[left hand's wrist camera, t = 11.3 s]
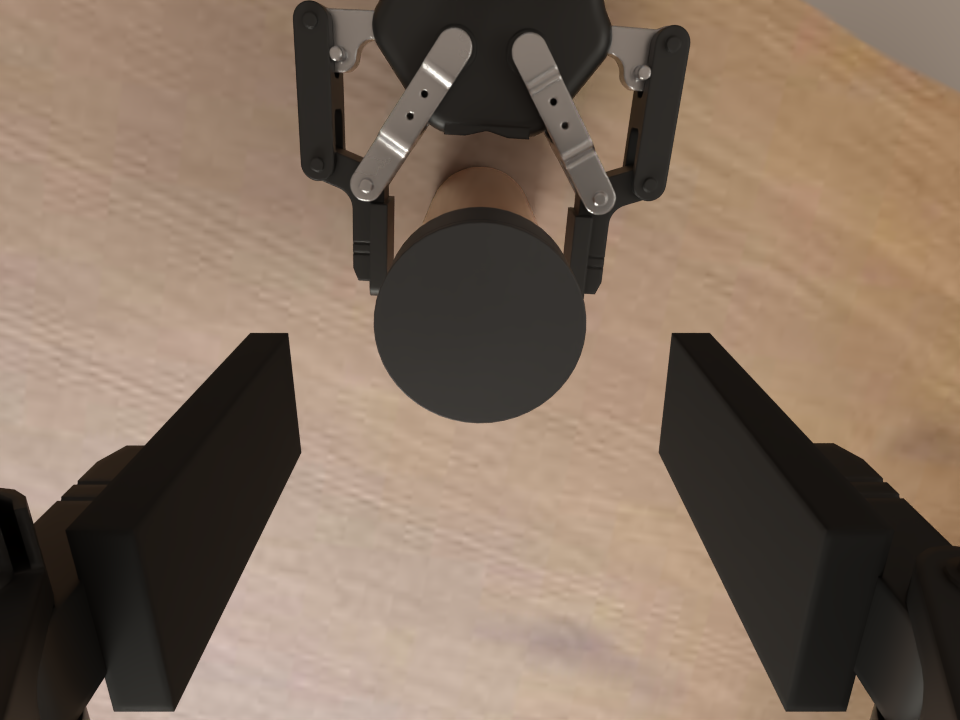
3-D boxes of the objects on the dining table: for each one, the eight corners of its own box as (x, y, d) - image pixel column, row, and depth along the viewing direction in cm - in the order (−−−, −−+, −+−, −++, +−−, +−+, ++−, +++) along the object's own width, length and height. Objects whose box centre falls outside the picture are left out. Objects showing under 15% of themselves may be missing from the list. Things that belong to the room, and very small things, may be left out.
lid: (377, 375, 21) (364, 409, 19) (395, 192, 19) (384, 206, 17) (555, 399, 21) (564, 436, 19) (592, 222, 19) (607, 239, 17)
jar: (424, 259, 34) (380, 392, 19) (436, 159, 32) (399, 219, 17) (521, 273, 34) (552, 416, 19) (538, 174, 32) (587, 247, 18)
